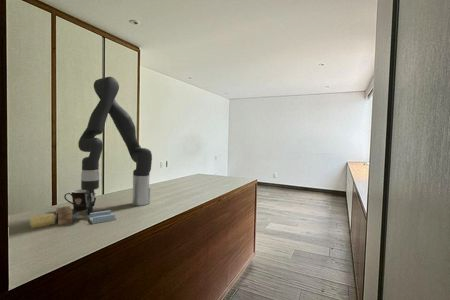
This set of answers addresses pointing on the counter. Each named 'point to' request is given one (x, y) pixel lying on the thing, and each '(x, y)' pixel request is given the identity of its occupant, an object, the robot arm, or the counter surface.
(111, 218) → the cradle
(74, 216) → the drift
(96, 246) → the counter surface
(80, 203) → the coffee mug
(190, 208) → the counter surface
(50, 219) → the yellow rectangular block
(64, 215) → the brown wooden block
